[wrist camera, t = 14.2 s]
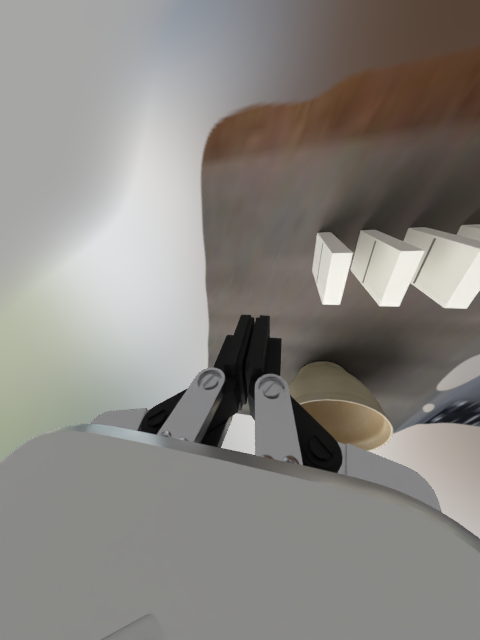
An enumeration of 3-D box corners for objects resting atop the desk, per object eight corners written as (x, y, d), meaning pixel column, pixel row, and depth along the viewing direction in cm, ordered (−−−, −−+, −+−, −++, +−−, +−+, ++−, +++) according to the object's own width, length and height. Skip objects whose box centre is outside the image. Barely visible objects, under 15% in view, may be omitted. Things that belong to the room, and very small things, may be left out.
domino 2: (375, 229, 22) (425, 250, 14) (363, 269, 25) (399, 306, 17) (360, 230, 22) (400, 251, 14) (350, 270, 25) (379, 305, 17)
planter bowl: (367, 399, 39) (390, 459, 30) (290, 400, 45) (291, 450, 36) (367, 342, 31) (397, 400, 22) (274, 352, 37) (269, 401, 28)
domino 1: (330, 231, 23) (353, 252, 15) (324, 270, 26) (339, 304, 18) (317, 232, 24) (332, 253, 16) (312, 270, 26) (322, 304, 18)
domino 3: (424, 227, 21) (509, 248, 13) (406, 269, 24) (466, 308, 16) (408, 227, 21) (480, 249, 13) (392, 269, 24) (444, 307, 16)
